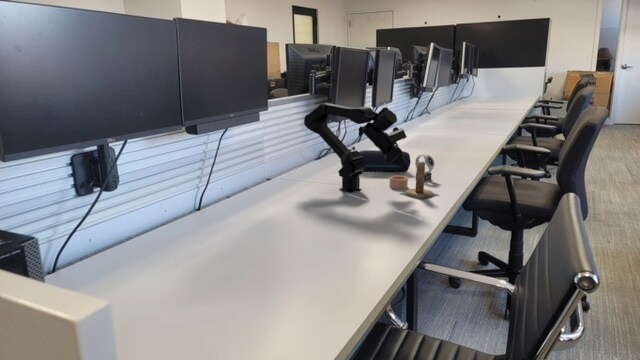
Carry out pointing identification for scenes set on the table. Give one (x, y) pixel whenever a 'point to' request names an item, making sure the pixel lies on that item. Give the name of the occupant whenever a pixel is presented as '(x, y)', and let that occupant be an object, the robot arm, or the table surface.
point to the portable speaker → (382, 162)
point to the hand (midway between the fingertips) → (406, 165)
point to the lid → (419, 184)
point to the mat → (419, 198)
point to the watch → (429, 163)
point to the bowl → (398, 182)
